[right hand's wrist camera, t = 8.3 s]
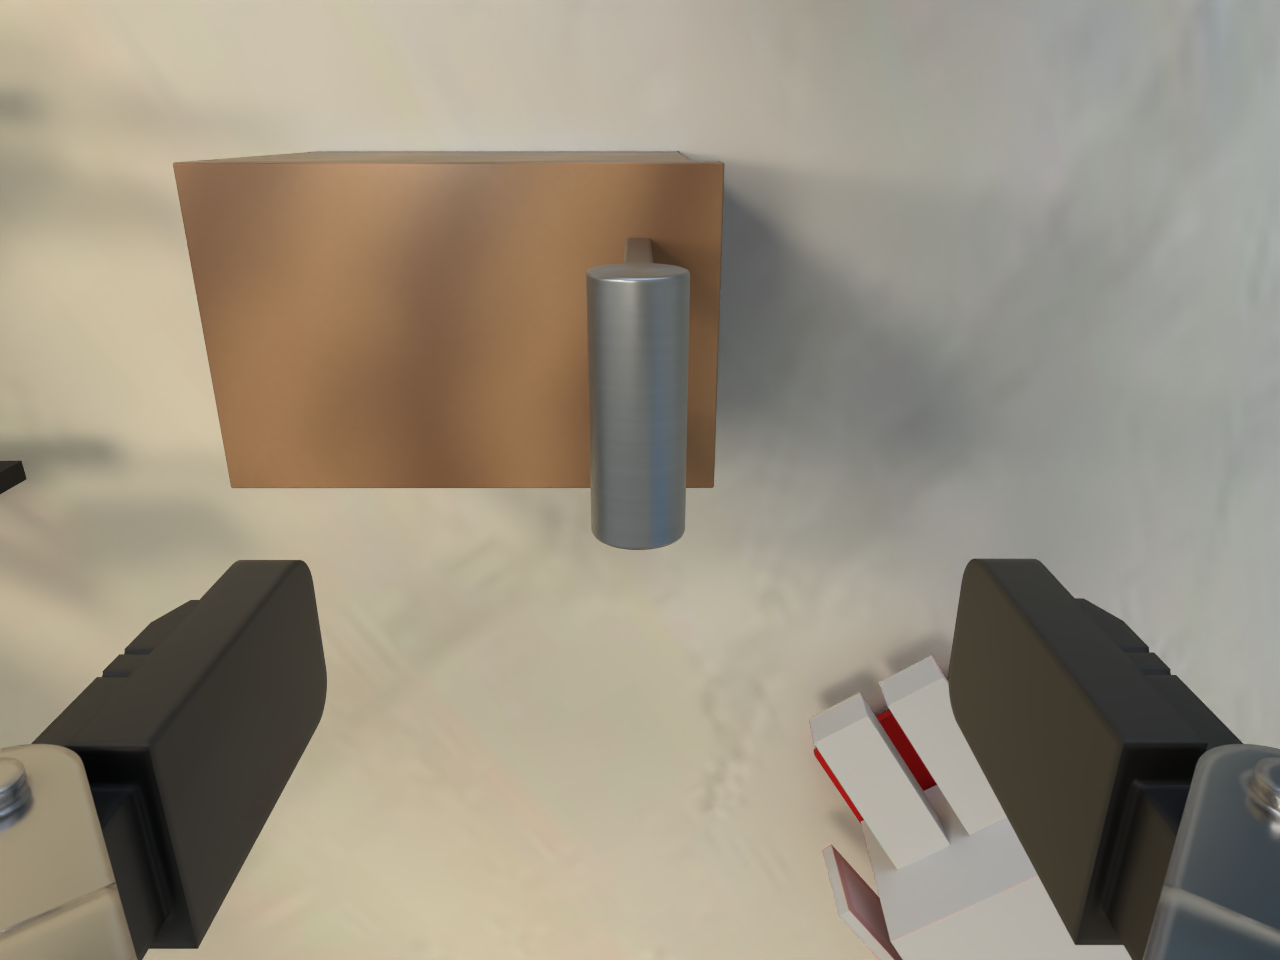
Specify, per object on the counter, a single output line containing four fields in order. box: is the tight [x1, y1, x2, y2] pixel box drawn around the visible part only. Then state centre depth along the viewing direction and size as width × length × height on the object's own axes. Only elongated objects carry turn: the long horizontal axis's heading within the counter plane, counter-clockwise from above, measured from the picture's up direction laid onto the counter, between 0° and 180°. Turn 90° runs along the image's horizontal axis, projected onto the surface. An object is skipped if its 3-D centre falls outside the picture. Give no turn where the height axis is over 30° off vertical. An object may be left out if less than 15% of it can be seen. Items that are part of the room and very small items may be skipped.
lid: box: [173, 161, 724, 550], centre depth 23 cm, size 15×10×9 cm, turn 90°
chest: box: [202, 151, 691, 161], centre depth 32 cm, size 14×10×11 cm
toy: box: [809, 655, 1132, 960], centre depth 44 cm, size 12×13×30 cm
